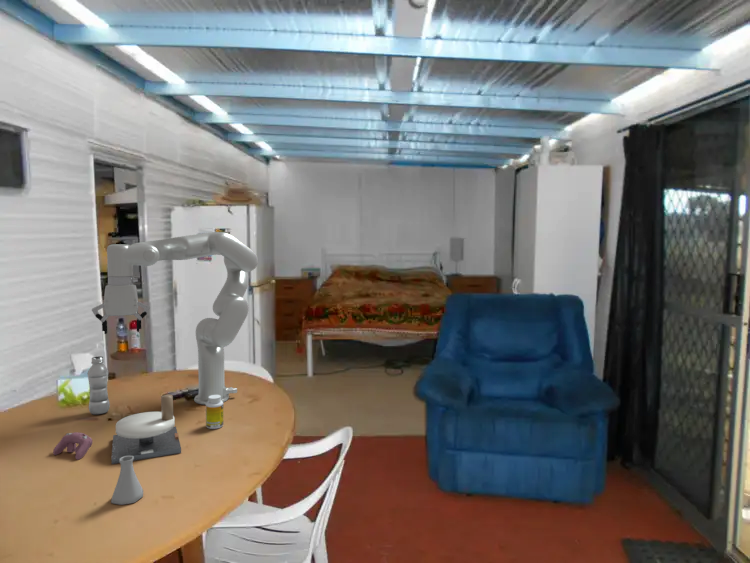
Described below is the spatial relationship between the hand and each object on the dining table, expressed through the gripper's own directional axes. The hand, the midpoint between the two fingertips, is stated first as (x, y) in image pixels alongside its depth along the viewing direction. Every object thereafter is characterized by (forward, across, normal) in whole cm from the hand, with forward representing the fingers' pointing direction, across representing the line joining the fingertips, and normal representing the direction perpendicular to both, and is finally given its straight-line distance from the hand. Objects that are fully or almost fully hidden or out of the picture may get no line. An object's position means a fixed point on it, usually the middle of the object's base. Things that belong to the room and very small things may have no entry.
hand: (122, 332), depth 168 cm
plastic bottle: (+31, +8, -10) cm, 33 cm away
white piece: (+25, -6, +26) cm, 36 cm away
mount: (+30, -6, +26) cm, 40 cm away
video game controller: (+31, +13, +23) cm, 41 cm away
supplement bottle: (+31, -27, +18) cm, 45 cm away
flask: (+31, -1, +56) cm, 64 cm away
